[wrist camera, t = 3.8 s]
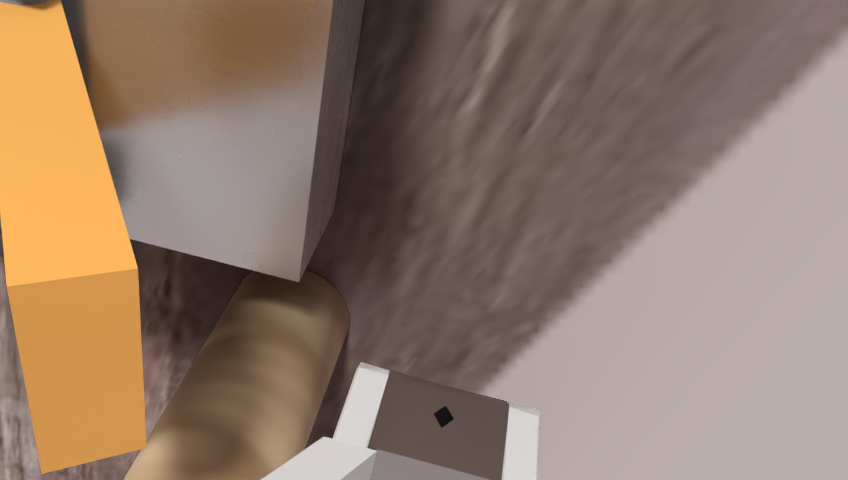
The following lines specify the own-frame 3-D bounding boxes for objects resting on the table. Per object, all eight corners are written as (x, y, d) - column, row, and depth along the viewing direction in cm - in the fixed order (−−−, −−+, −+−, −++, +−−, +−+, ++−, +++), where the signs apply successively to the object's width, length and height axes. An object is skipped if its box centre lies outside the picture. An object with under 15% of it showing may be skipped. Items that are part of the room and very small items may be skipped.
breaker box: (-121, 94, 25) (-290, 181, 20) (-214, -255, 19) (-486, -254, 14) (334, 210, 24) (276, 327, 20) (380, -108, 19) (316, -55, 14)
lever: (5, 143, 19) (43, 481, 12) (-23, -25, 16) (4, 274, 9) (72, 139, 20) (146, 455, 13) (55, -22, 17) (137, 257, 10)
